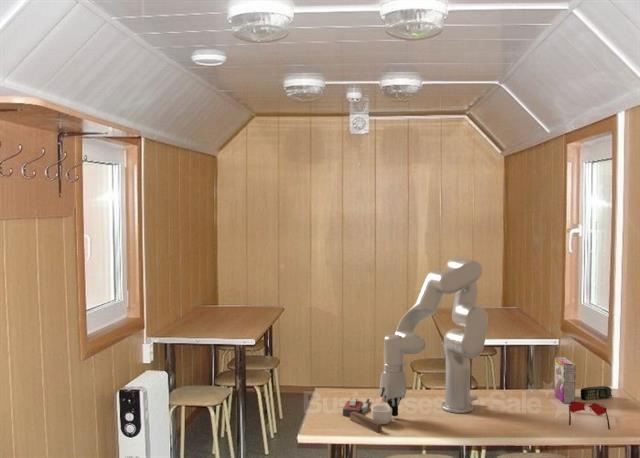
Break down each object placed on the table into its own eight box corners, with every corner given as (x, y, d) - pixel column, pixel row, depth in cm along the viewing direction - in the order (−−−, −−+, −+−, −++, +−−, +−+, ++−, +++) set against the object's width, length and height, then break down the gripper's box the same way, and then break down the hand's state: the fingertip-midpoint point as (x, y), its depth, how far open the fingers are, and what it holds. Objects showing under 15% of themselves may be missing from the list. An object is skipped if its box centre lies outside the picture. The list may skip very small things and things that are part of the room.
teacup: (391, 426, 241) (391, 412, 241) (370, 425, 243) (370, 411, 242) (393, 417, 251) (393, 403, 251) (373, 416, 253) (373, 402, 252)
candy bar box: (553, 395, 278) (554, 357, 277) (565, 395, 278) (566, 357, 277) (563, 403, 266) (563, 364, 265) (575, 403, 266) (576, 364, 265)
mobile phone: (583, 389, 270) (615, 386, 273) (579, 387, 273) (610, 384, 276) (583, 401, 270) (615, 397, 274) (579, 399, 273) (610, 395, 277)
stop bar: (354, 419, 250) (354, 411, 249) (381, 431, 236) (381, 423, 236) (350, 420, 248) (350, 412, 248) (377, 432, 235) (377, 424, 235)
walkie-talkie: (364, 419, 250) (370, 402, 270) (364, 408, 250) (371, 392, 269) (341, 417, 252) (349, 401, 272) (341, 406, 252) (349, 391, 271)
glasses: (606, 416, 253) (606, 403, 253) (610, 430, 238) (610, 417, 237) (568, 412, 258) (568, 399, 258) (568, 426, 242) (569, 413, 242)
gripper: (401, 362, 256) (401, 408, 257) (372, 368, 248) (372, 416, 249) (415, 366, 250) (414, 414, 251) (385, 373, 242) (385, 422, 243)
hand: (393, 415), depth 250 cm, fingers closed
